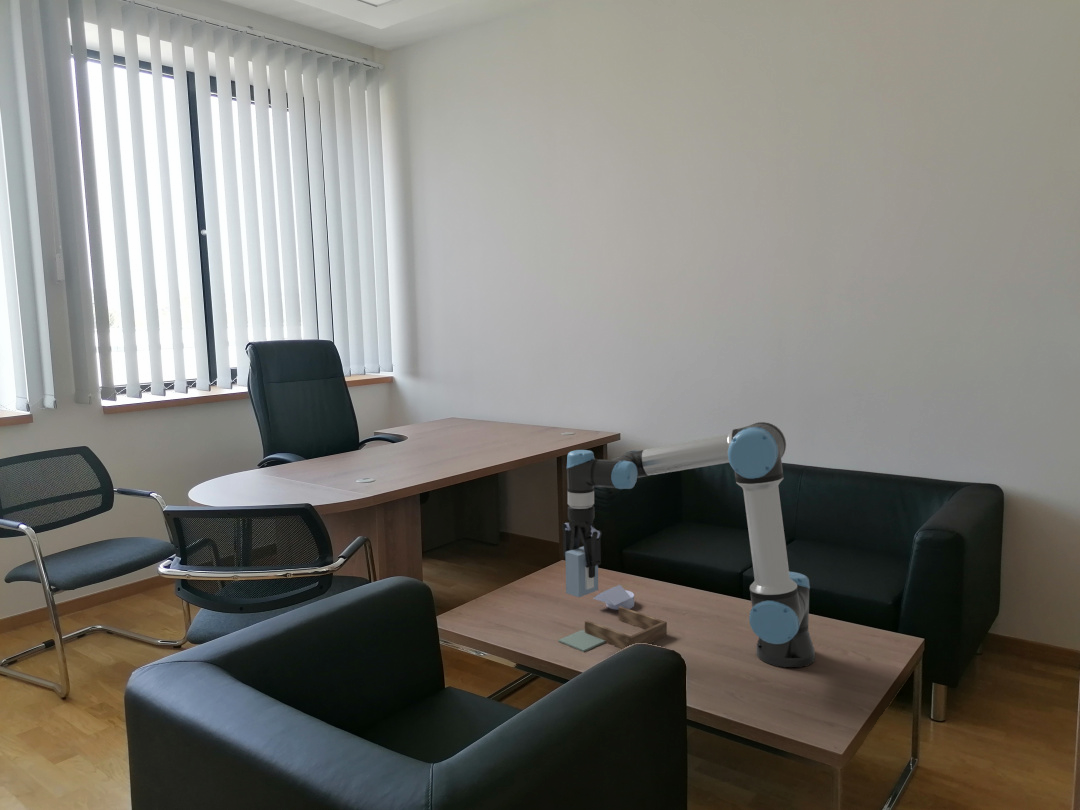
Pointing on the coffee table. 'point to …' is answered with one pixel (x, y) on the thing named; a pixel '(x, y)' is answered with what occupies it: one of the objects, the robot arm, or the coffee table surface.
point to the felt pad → (581, 641)
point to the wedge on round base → (616, 598)
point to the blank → (578, 573)
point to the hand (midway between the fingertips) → (582, 585)
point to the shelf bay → (650, 624)
